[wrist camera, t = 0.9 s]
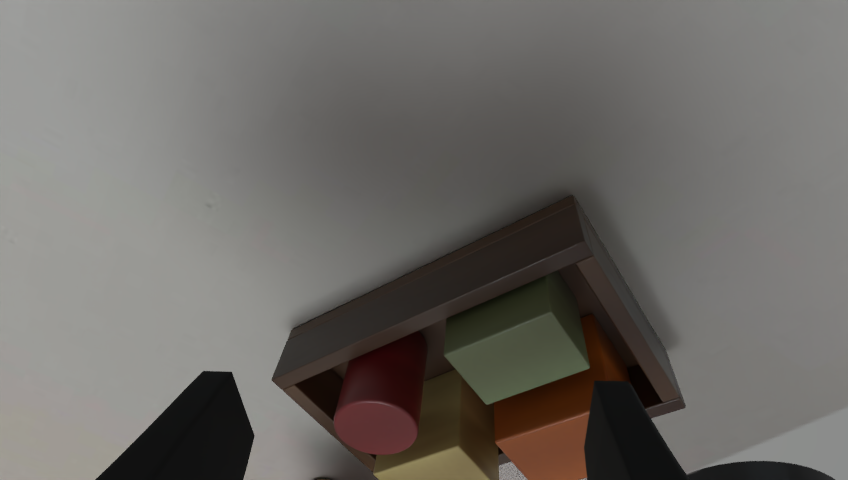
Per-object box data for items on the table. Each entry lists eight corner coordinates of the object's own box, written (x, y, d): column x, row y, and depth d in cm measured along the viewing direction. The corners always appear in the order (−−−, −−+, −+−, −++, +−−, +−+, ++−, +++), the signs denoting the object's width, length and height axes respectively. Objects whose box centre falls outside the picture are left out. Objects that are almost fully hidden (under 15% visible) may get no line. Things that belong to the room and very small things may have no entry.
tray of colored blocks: (667, 352, 22) (705, 460, 18) (405, 443, 26) (392, 544, 22) (573, 193, 18) (596, 285, 14) (290, 329, 23) (252, 426, 19)
